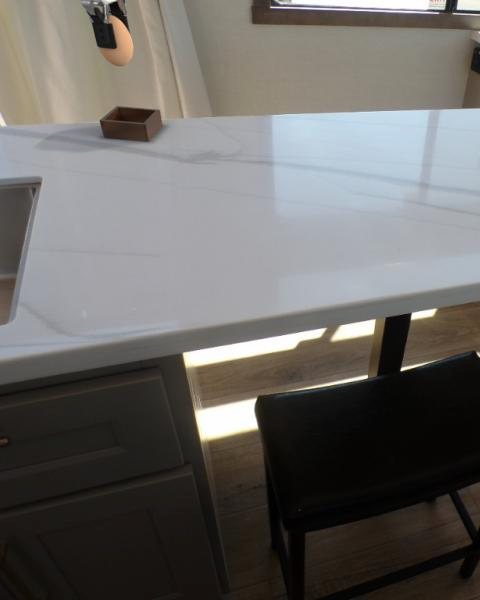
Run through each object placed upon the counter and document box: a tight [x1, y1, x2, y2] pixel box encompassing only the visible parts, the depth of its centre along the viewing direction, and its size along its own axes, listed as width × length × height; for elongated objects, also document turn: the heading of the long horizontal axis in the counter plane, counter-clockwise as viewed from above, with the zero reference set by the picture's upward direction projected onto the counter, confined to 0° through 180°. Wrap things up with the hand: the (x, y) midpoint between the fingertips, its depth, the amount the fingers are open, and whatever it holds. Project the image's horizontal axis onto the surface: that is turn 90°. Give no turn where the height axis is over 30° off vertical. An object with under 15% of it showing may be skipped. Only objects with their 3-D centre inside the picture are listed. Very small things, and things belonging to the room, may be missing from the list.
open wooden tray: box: [99, 105, 164, 143], centre depth 102 cm, size 8×8×3 cm
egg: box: [97, 15, 134, 67], centre depth 93 cm, size 6×6×8 cm
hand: (114, 42), depth 93 cm, fingers closed on egg, 5 cm apart
